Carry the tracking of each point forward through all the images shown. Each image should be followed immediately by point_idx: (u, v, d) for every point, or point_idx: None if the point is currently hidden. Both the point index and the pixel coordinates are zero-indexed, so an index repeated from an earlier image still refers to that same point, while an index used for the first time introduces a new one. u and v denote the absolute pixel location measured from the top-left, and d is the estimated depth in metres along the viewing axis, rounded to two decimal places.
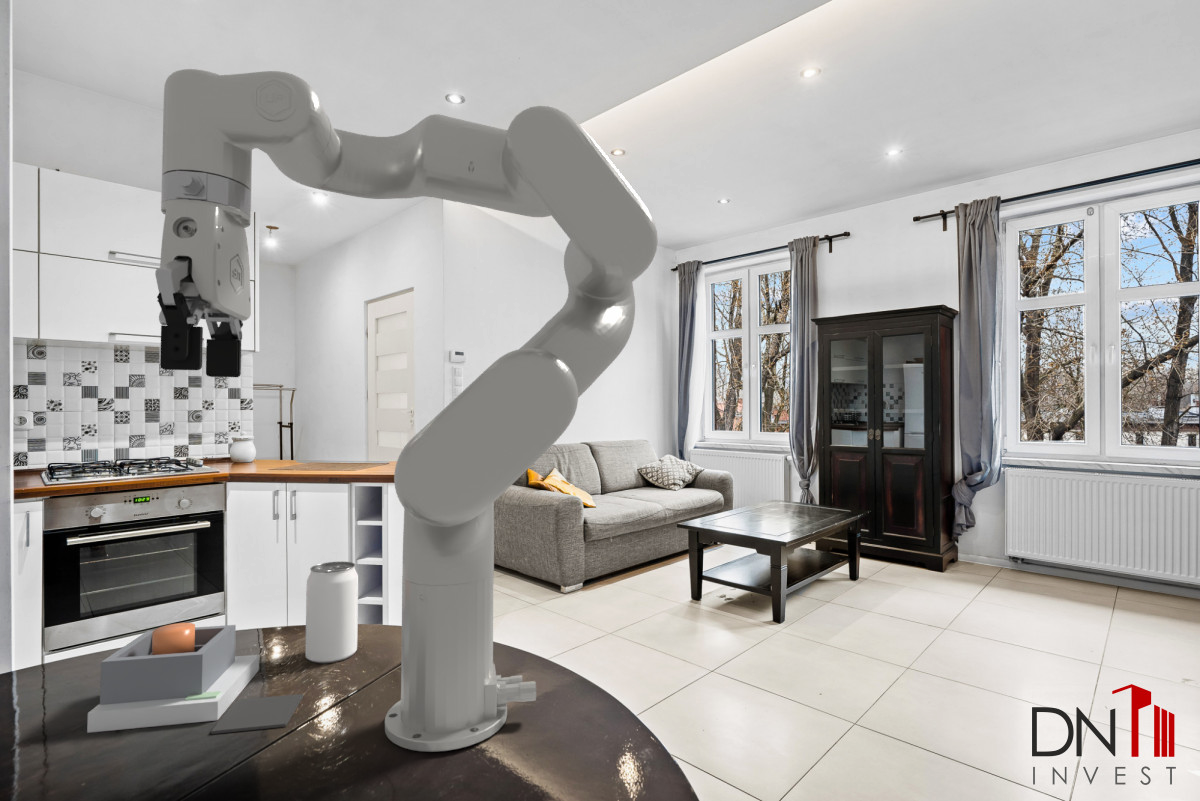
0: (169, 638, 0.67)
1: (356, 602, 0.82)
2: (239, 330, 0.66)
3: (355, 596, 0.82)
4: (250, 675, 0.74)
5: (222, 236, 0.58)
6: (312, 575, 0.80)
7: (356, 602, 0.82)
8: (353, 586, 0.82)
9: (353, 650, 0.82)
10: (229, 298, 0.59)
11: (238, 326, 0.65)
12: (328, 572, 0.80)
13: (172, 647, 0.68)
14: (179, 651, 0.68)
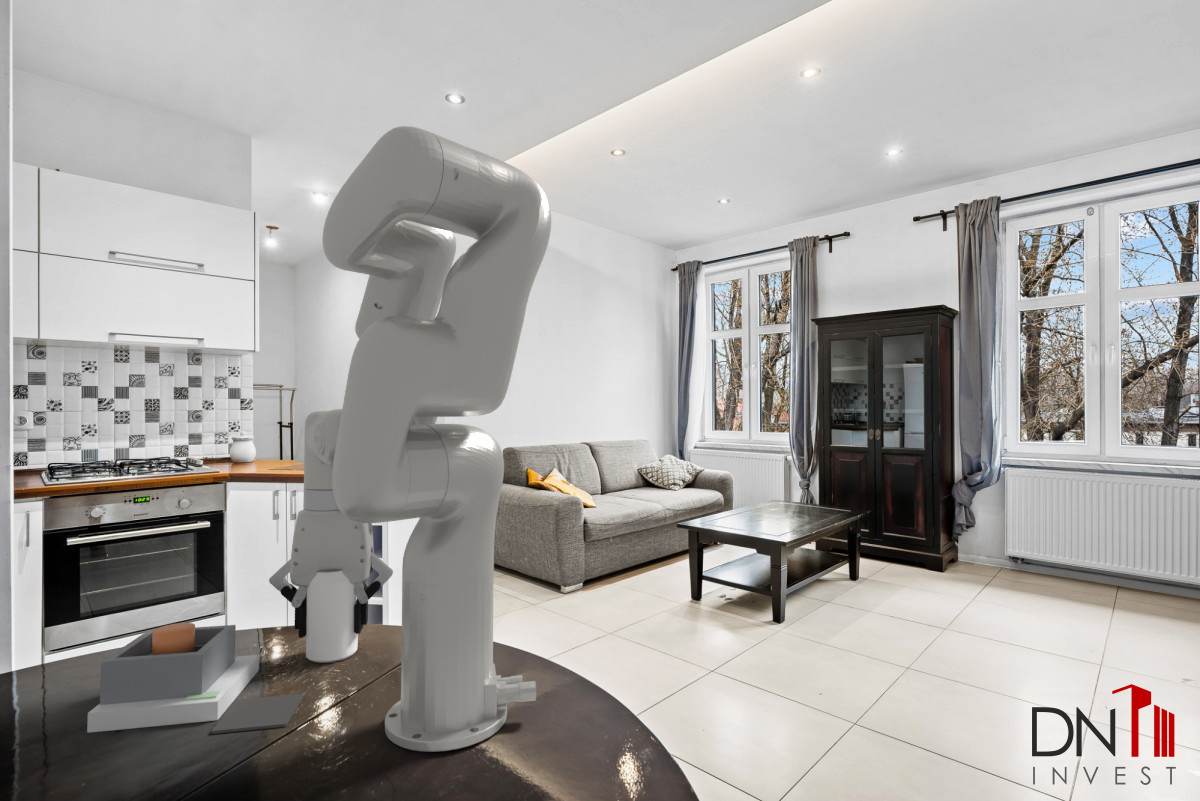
0: (169, 638, 0.67)
1: (356, 602, 0.82)
2: None
3: (356, 596, 0.82)
4: (250, 675, 0.74)
5: None
6: None
7: (356, 602, 0.82)
8: (353, 586, 0.82)
9: (353, 650, 0.82)
10: None
11: None
12: (328, 572, 0.80)
13: (172, 647, 0.68)
14: (179, 651, 0.68)
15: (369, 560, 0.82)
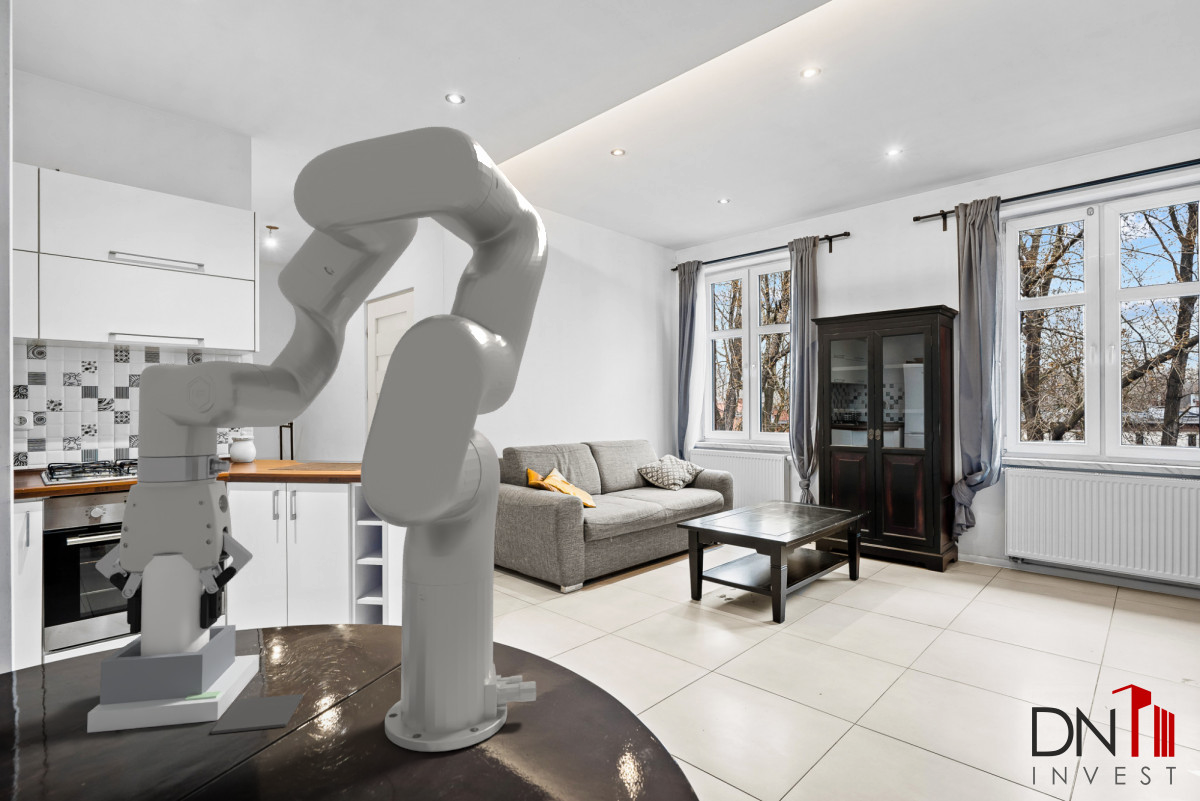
0: None
1: None
2: (141, 581, 0.70)
3: None
4: (250, 675, 0.74)
5: None
6: None
7: (204, 591, 0.70)
8: None
9: (200, 648, 0.69)
10: None
11: None
12: (165, 555, 0.67)
13: None
14: None
15: (219, 542, 0.69)
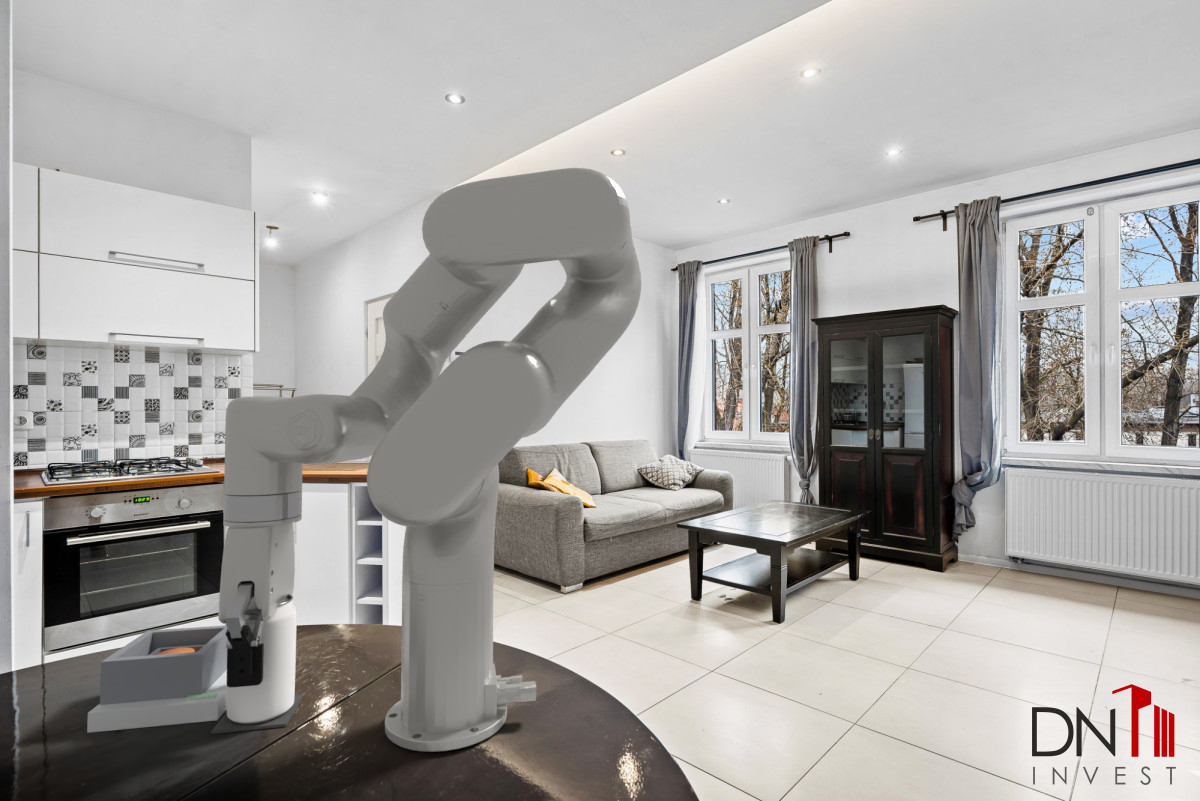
0: None
1: None
2: None
3: None
4: None
5: None
6: None
7: None
8: None
9: None
10: None
11: None
12: (291, 600, 0.66)
13: None
14: None
15: None
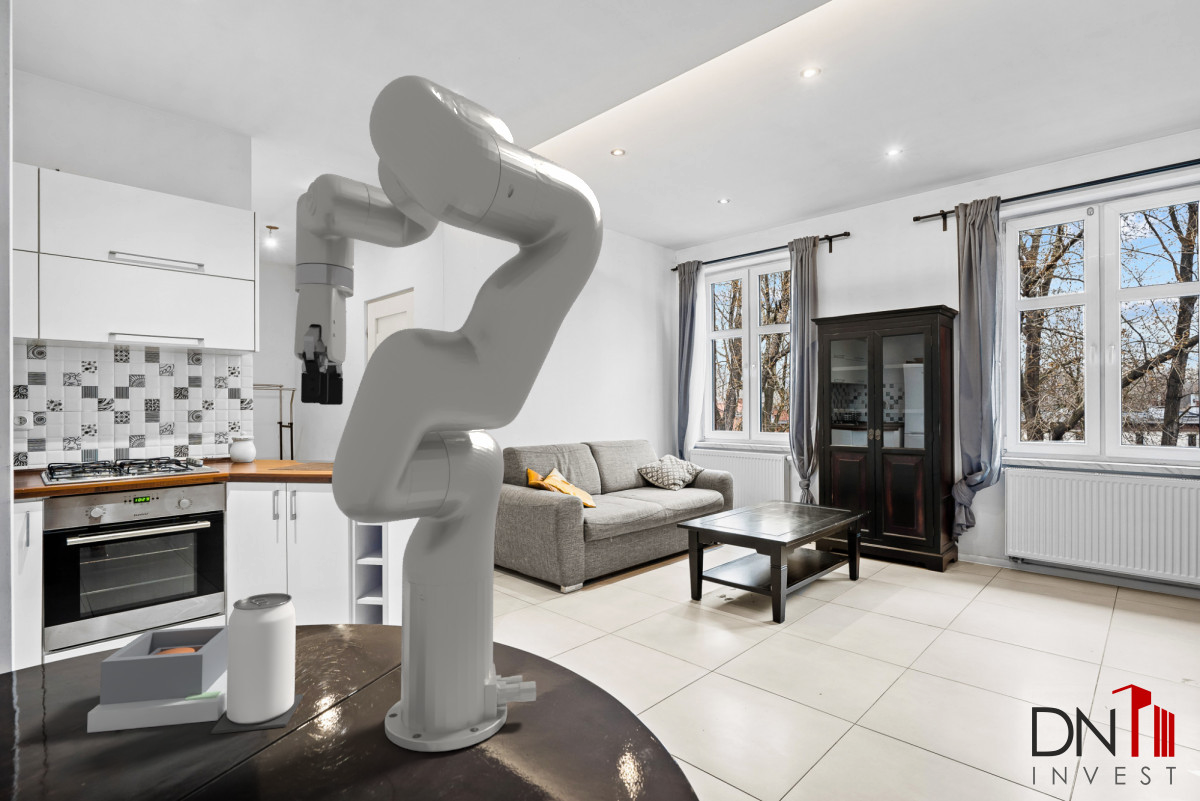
0: None
1: None
2: None
3: None
4: None
5: None
6: (272, 611, 0.64)
7: None
8: None
9: None
10: None
11: (304, 361, 0.80)
12: (290, 600, 0.66)
13: None
14: None
15: None
